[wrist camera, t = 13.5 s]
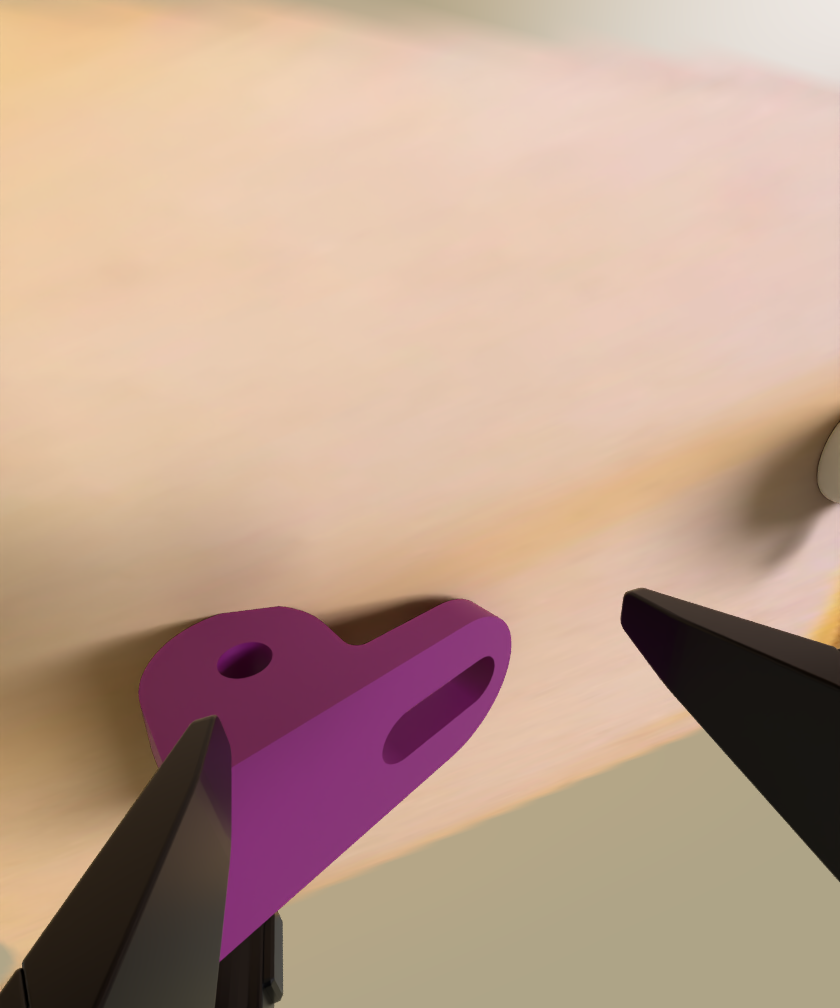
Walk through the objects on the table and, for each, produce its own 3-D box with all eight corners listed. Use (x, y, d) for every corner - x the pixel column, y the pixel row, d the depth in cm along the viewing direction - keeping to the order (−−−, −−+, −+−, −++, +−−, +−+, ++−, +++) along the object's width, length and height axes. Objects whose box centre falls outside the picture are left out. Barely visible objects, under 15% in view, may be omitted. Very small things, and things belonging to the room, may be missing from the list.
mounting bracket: (421, 539, 30) (119, 650, 18) (520, 592, 24) (177, 799, 13) (414, 646, 34) (156, 797, 22) (500, 714, 28) (215, 965, 16)
